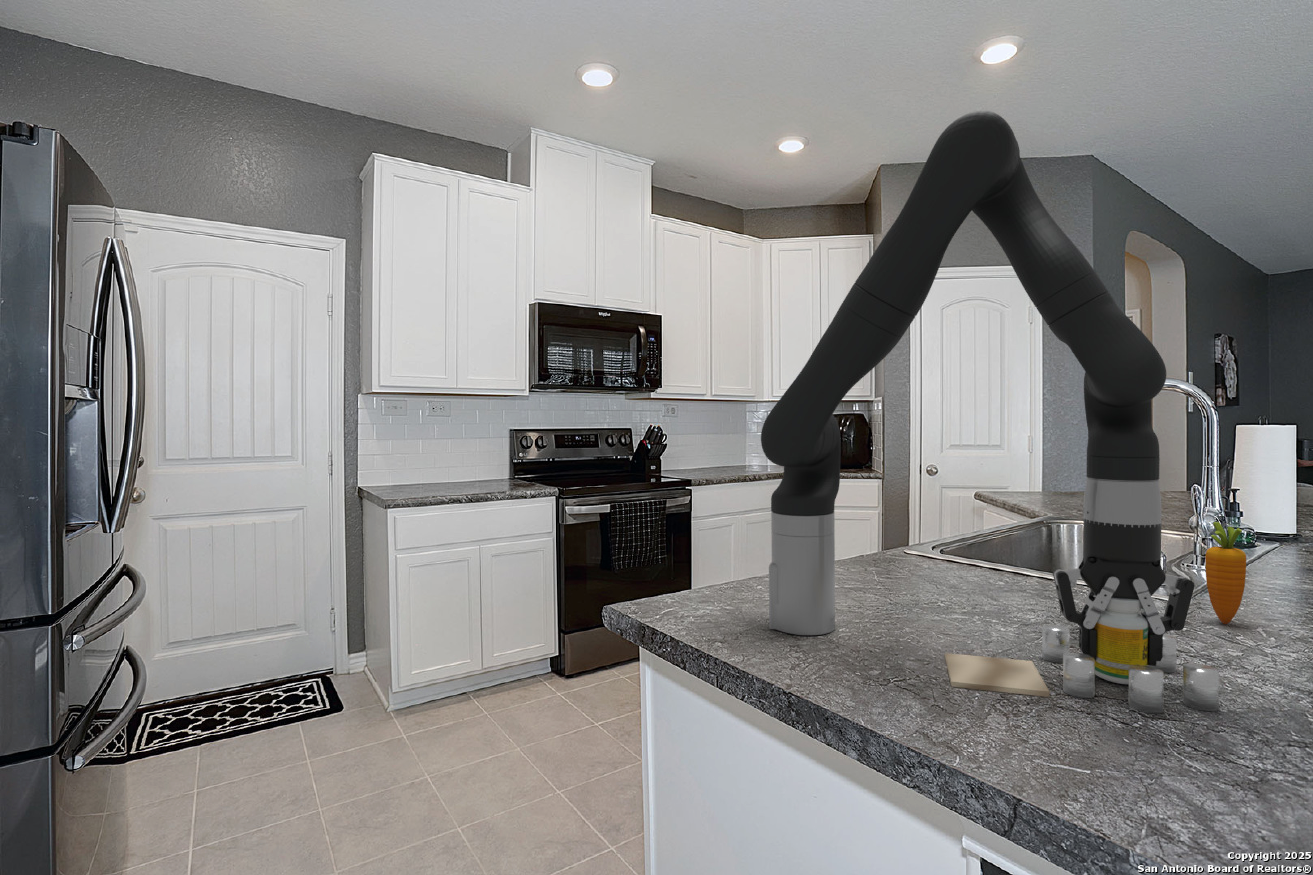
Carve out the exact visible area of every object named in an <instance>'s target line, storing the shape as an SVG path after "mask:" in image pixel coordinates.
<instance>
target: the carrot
mask: <svg viewBox="0 0 1313 875" xmlns="http://www.w3.org/2000/svg"><path fill="white" fill-rule="evenodd" d="M1212 526H1213V527H1214V529H1215V531H1214V533H1215V534H1211V535H1210V537H1211V538H1212V539H1213V540H1214V541H1215V542H1216V543H1217V544H1218V545H1219V546H1212V547H1209V548H1207V550H1206V552H1205V555H1204V558H1205V563H1204V564H1205V580H1206V588H1207V592H1208V595H1209V596H1208V597H1209V600H1210V604H1211V607H1212V608H1213V611H1214V614H1216V617H1217V618H1218V619H1219V621H1220V622H1221V624H1223V625H1225V626H1226V625H1228V624H1229V623H1231V622H1232V620H1233V619H1234V617H1235V616H1236V615H1237V613H1238V610H1239V608H1240V606H1241V603H1242V600H1243V596H1244V592H1245V586H1246V574H1247V554H1246V553H1245V551H1244V550H1242V549H1240V548H1236V547H1234V544H1235V543H1236V541H1237V539H1238V537H1239V536H1240V535H1241V533H1242V532H1243V530H1242V529H1240V528H1239V527H1238V528H1236V529H1235V528H1234V527H1232V526H1227V527H1226V528H1227V532H1226V531H1225V528H1224V527H1223V526H1222V524H1221V522H1219V521H1214V522H1213V523H1212ZM1227 534H1228V536H1227Z"/></svg>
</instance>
